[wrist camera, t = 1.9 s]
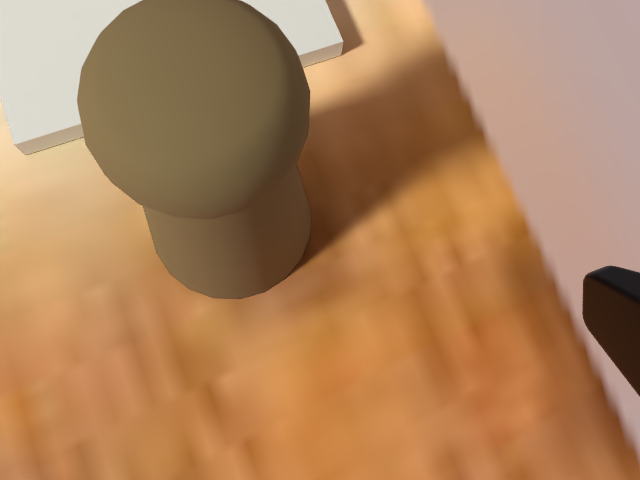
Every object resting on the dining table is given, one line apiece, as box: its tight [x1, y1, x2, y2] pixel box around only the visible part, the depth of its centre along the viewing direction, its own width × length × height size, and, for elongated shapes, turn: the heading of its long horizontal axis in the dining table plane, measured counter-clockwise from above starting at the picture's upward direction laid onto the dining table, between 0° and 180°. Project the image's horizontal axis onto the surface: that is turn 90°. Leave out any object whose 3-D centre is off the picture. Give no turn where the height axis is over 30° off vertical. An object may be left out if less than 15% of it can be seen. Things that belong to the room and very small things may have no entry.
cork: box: [77, 0, 311, 299], centre depth 18 cm, size 6×6×11 cm
